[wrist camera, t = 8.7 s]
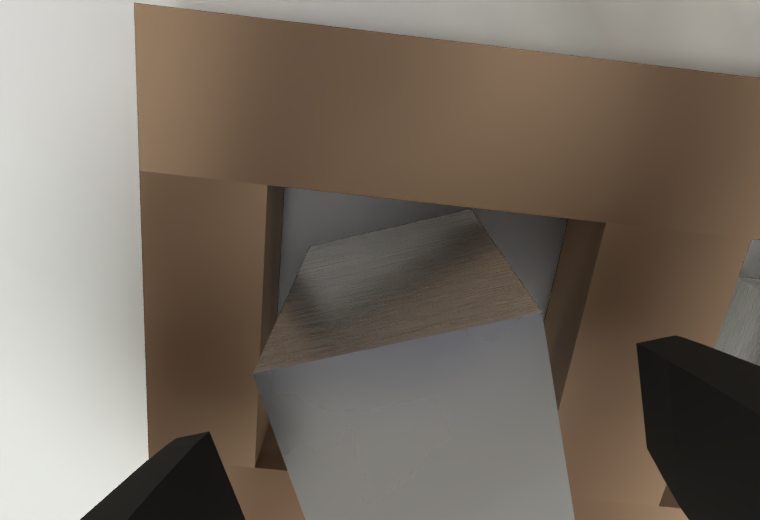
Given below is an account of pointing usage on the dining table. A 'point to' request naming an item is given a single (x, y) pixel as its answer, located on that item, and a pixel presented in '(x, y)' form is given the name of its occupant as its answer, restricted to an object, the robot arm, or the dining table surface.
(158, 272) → the brown board with cutouts
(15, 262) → the dining table surface
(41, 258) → the dining table surface
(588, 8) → the dining table surface
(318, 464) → the steel billet
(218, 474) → the robot arm
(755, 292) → the block
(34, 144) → the dining table surface
